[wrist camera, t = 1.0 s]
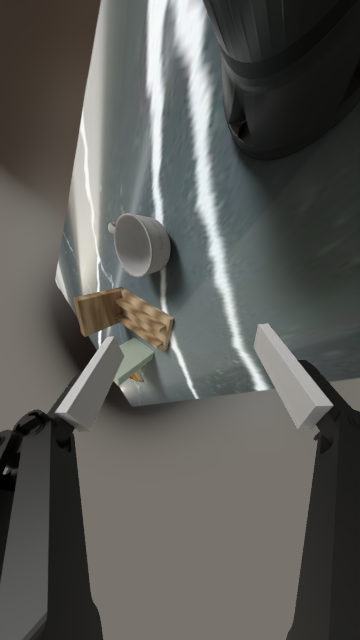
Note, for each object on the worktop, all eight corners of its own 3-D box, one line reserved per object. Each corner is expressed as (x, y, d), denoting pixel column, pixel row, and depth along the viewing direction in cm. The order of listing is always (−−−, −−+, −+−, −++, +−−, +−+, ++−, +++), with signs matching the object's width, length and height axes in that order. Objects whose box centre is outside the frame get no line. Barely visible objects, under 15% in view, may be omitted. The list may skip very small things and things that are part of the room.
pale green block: (153, 352, 50) (118, 378, 40) (153, 358, 52) (118, 386, 41) (134, 337, 54) (97, 358, 43) (134, 344, 56) (98, 365, 45)
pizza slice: (146, 378, 62) (141, 383, 60) (129, 384, 76) (124, 388, 74) (126, 348, 63) (120, 352, 60) (113, 360, 76) (107, 363, 74)
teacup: (186, 245, 29) (159, 244, 23) (162, 282, 36) (136, 288, 30) (145, 196, 30) (110, 184, 24) (129, 241, 38) (99, 240, 32)
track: (173, 318, 38) (130, 343, 28) (167, 349, 45) (130, 379, 35) (121, 287, 47) (73, 297, 37) (122, 317, 54) (81, 333, 43)
